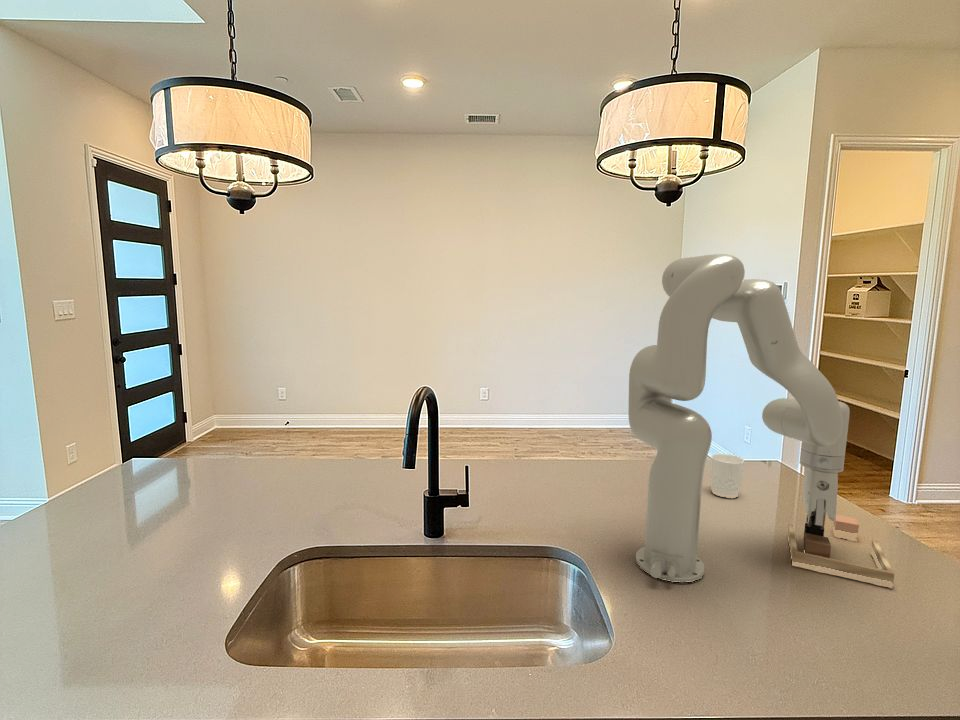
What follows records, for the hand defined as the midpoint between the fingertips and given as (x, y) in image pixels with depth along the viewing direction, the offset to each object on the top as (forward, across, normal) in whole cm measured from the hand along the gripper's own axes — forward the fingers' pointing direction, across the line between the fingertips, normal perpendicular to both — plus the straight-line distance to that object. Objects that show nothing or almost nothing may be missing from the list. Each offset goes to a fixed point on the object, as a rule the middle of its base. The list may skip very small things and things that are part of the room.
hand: (812, 543), depth 105 cm
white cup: (+1, +24, +17) cm, 29 cm away
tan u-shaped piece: (+1, -4, -3) cm, 5 cm away
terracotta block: (+1, +10, -7) cm, 13 cm away
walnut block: (+1, -4, 0) cm, 4 cm away
